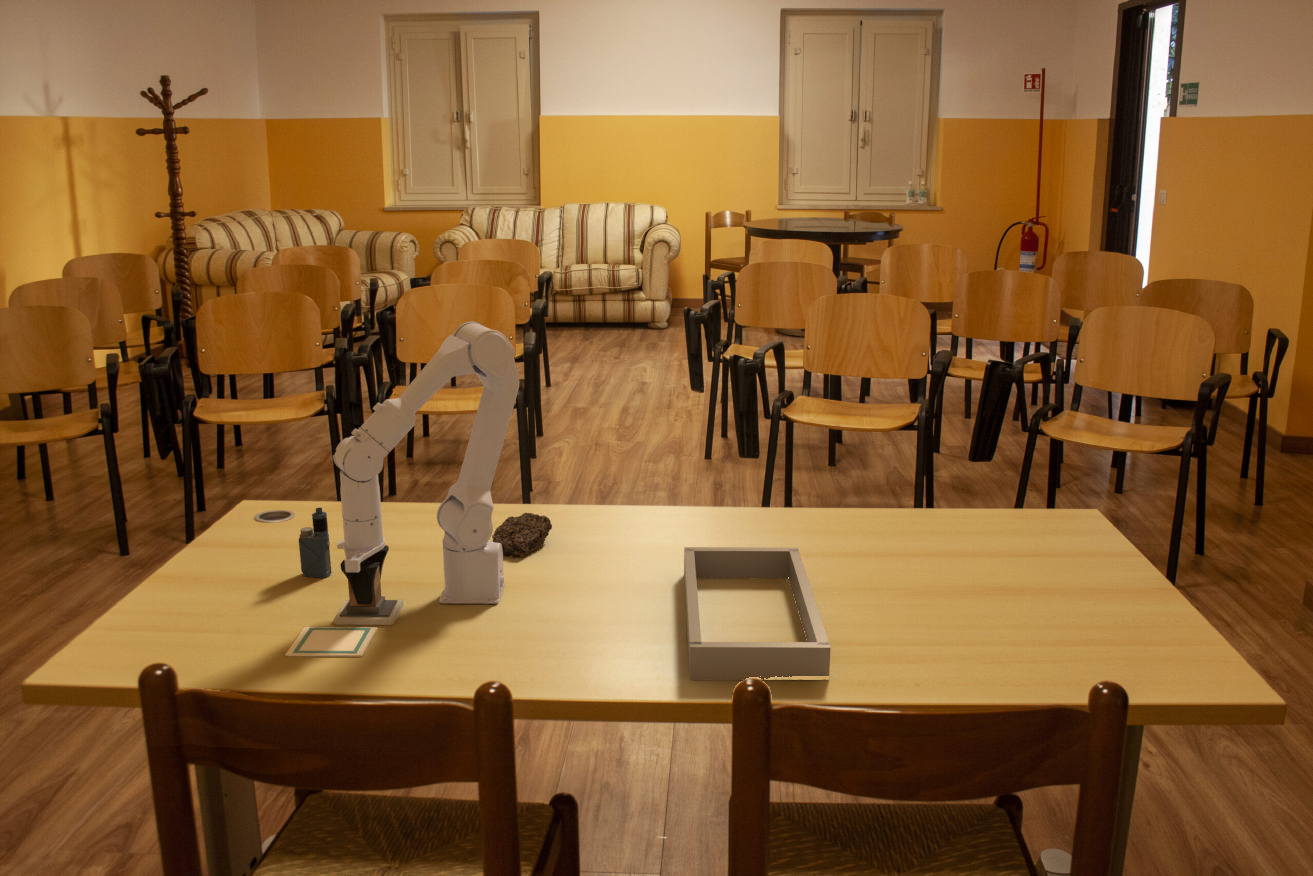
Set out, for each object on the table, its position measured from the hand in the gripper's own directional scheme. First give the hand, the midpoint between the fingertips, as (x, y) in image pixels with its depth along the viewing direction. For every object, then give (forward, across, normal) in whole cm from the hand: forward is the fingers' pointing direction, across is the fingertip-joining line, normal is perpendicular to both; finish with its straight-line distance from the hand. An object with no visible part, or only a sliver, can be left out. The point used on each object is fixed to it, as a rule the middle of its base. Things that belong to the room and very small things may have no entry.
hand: (368, 598), depth 171 cm
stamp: (+2, 0, 0) cm, 2 cm away
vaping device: (+3, -16, -13) cm, 21 cm away
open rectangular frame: (+3, +2, +59) cm, 59 cm away
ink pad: (+3, 0, 0) cm, 3 cm away
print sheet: (+3, +10, -3) cm, 10 cm away
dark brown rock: (+3, -30, +20) cm, 36 cm away
